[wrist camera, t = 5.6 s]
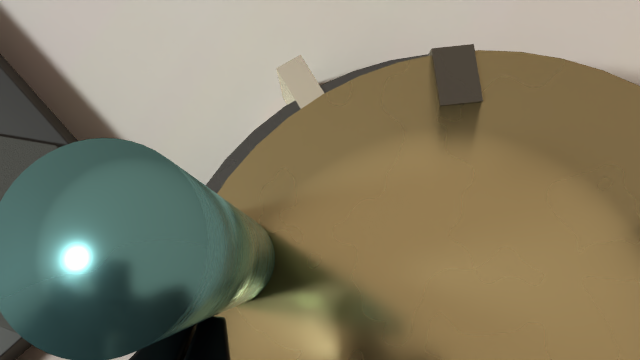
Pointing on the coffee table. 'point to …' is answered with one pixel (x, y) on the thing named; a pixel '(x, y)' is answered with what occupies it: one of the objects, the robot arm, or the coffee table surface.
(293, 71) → the dark grey round disc
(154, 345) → the robot arm
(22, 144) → the picture frame
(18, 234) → the tan round piece
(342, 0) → the coffee table surface
